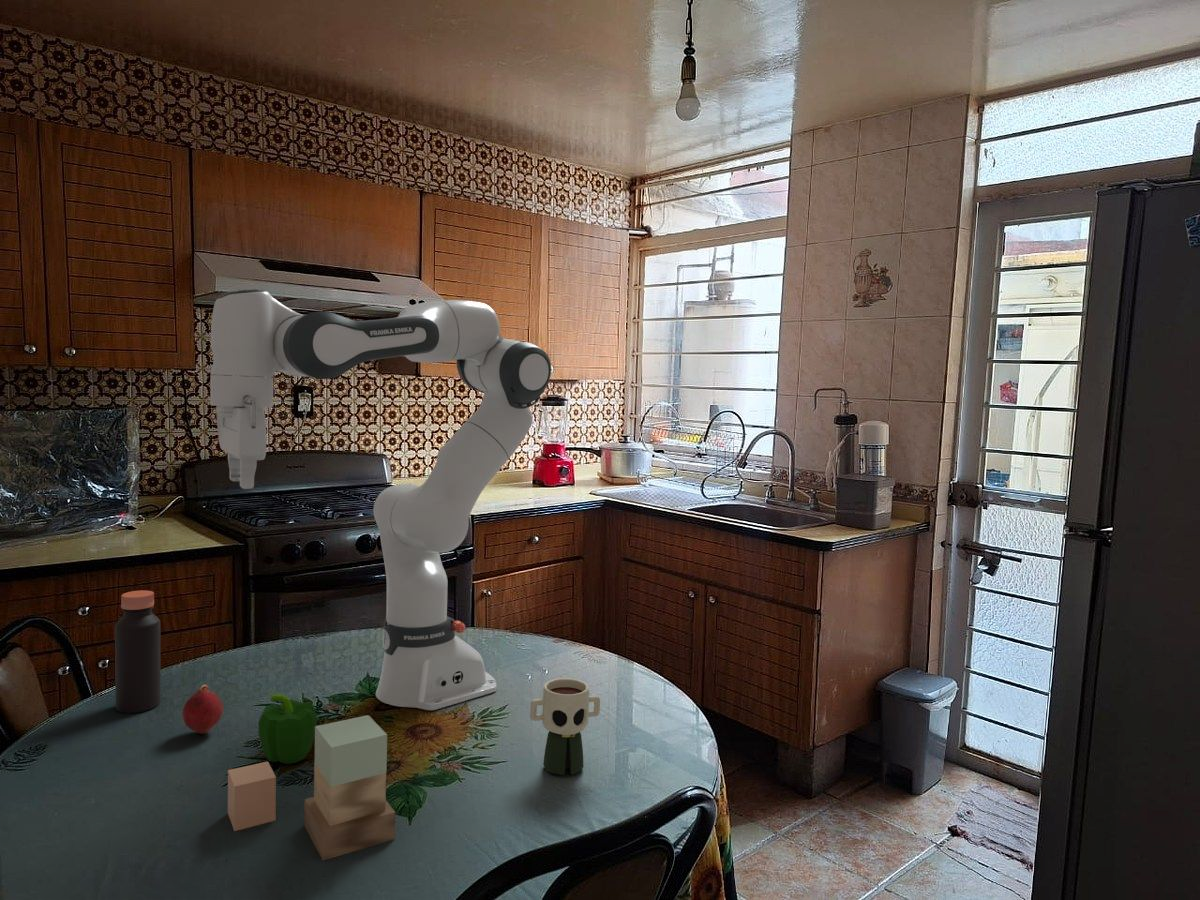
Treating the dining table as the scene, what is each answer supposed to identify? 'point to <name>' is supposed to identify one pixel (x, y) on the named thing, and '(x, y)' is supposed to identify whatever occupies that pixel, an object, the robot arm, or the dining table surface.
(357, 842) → the walnut slab
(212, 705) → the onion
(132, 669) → the bottle
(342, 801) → the oak cube
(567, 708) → the character mug
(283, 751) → the bell pepper
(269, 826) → the dining table surface
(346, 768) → the sage cube
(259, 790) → the terracotta block
